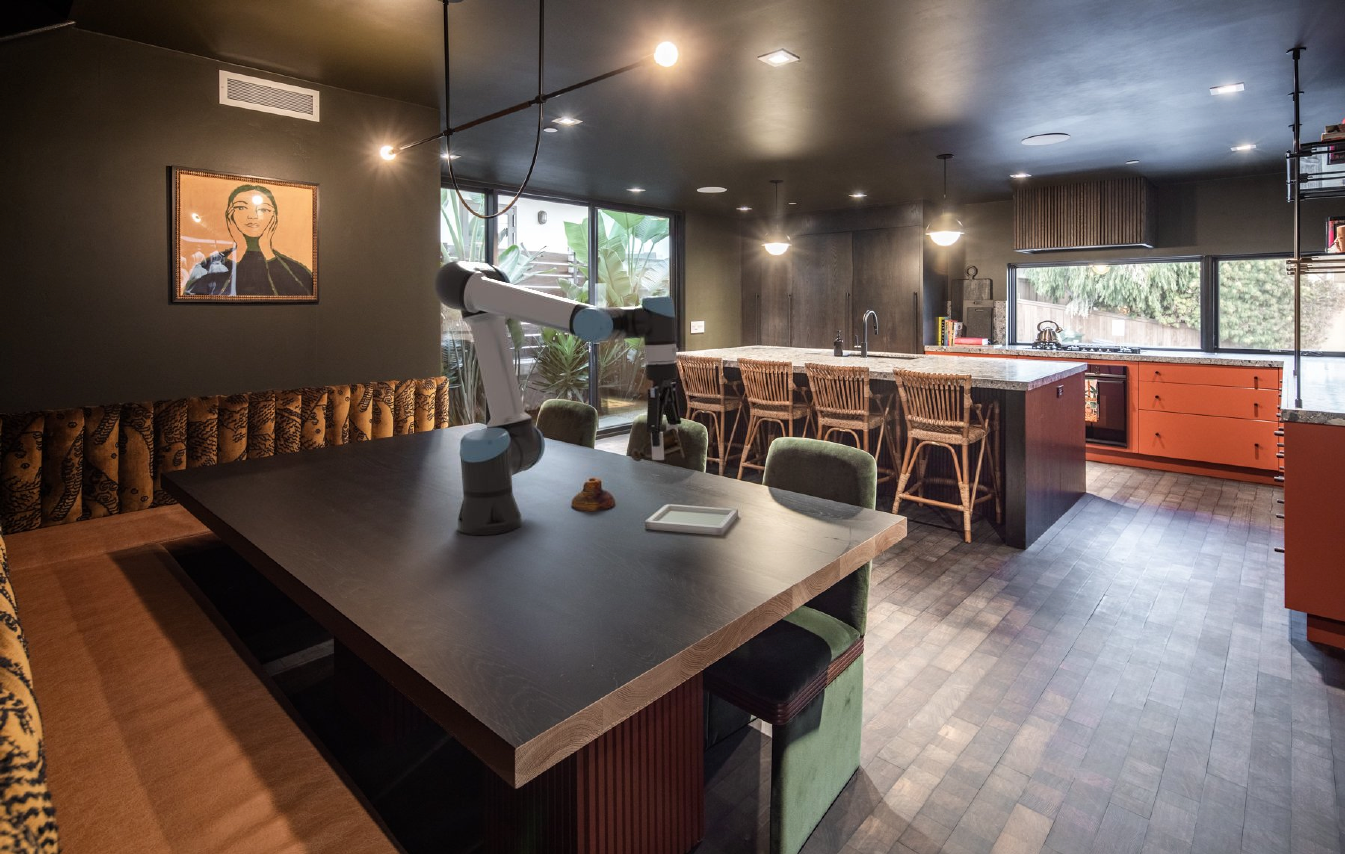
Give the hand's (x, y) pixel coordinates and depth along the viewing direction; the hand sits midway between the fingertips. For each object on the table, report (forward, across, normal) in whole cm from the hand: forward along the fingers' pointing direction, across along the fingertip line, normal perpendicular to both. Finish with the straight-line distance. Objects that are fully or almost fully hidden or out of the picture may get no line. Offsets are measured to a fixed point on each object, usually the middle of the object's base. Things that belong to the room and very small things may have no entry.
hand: (665, 455), depth 172 cm
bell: (+17, +10, +25) cm, 32 cm away
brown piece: (+1, 0, +2) cm, 2 cm away
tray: (+17, +2, -5) cm, 18 cm away
